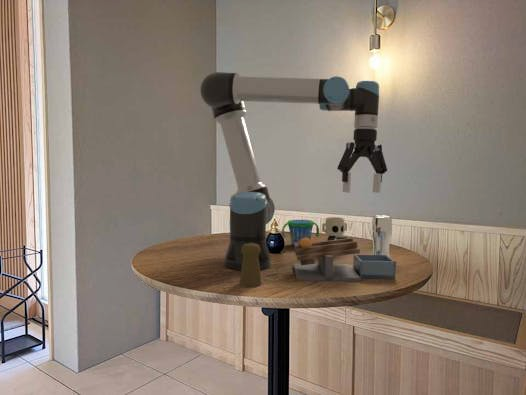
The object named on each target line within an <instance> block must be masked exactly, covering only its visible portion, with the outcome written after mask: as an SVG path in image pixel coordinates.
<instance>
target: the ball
mask: <svg viewBox="0 0 526 395" xmlns="http://www.w3.org/2000/svg"><path fill="white" fill-rule="evenodd" d="M312 243H313V242H312V239H308V238H302V239H301V240H300V241H299V246H300V248H306V247H312Z"/></svg>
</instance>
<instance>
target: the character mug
mask: <svg viewBox="0 0 526 395" xmlns="http://www.w3.org/2000/svg"><path fill="white" fill-rule="evenodd" d="M321 225H322V227H321V231H322V232H323V233H324V234H325V235H327V236H328V237H327V240H326V241H330V240H334V238H336V237H338V236H344V234H345V232H346V231H348V223H347V221H346V222H345V218H344V217H336V216H332V217H331V216H330V217H326V218H325V223H322V224H321Z"/></svg>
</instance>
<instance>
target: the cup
mask: <svg viewBox="0 0 526 395" xmlns="http://www.w3.org/2000/svg"><path fill="white" fill-rule="evenodd" d="M389 256H390V255H389ZM389 256H387V255H372V254H361V253H357V254H353V263H352V265H353V267H352V268H353V269H354V270H355V271H356V273H357V274H358V275H359V276H360V277H361V279H384V280H385V279H386V280H387V279H389V280H390V279H391V280H393V279H394V280H395V279H396V271H397V270H396V269H397V268H396V265H397V263H396V260H394V259H393V258H391V257H389Z"/></svg>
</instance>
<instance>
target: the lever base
mask: <svg viewBox="0 0 526 395" xmlns="http://www.w3.org/2000/svg"><path fill="white" fill-rule="evenodd" d="M293 269H294V272H295V273H294V274H295V277H296V280H297V281H311V282H312V281H314V282H315V281H317V282H318V281H320V282H321V281H325V282H362V278H361V277H360V276H359V275H358V274H357V273H356V271H355V270H354V269H353V267H352V264H348V263H347V264H345V263H342V264H341V263H337V264H336V263H334V256H332V255H325V257H324V258H317V263H315V264H309V265H301V263H300V262H299V263H293Z"/></svg>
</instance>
